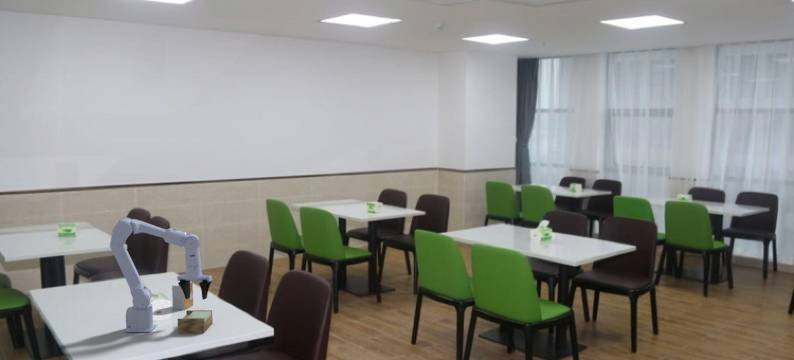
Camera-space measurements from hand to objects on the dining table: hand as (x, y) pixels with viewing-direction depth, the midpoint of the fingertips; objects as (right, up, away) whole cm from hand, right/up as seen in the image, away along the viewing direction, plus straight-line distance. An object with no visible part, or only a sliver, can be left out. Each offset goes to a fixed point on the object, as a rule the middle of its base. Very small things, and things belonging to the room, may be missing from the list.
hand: (196, 298), depth 263 cm
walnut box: (+1, -11, -3) cm, 12 cm away
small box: (-13, -9, +25) cm, 30 cm away
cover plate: (+2, -7, -4) cm, 8 cm away
